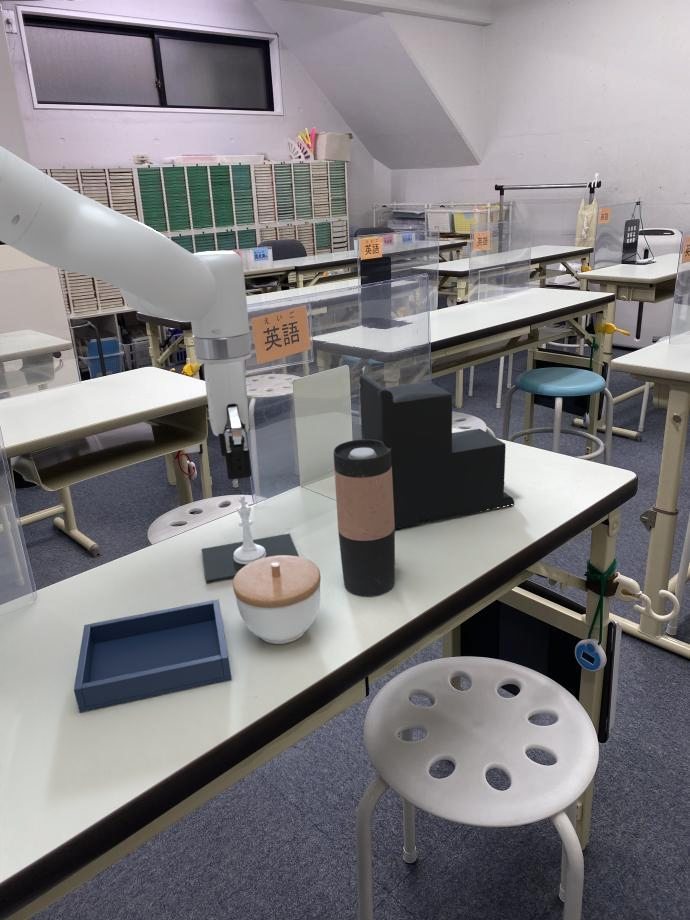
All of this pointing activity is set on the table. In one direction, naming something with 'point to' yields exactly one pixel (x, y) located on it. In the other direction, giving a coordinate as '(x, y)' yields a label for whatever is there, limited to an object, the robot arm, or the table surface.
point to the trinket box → (278, 597)
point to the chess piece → (247, 538)
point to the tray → (151, 655)
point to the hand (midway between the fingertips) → (235, 465)
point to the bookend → (432, 453)
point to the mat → (225, 567)
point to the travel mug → (365, 516)
